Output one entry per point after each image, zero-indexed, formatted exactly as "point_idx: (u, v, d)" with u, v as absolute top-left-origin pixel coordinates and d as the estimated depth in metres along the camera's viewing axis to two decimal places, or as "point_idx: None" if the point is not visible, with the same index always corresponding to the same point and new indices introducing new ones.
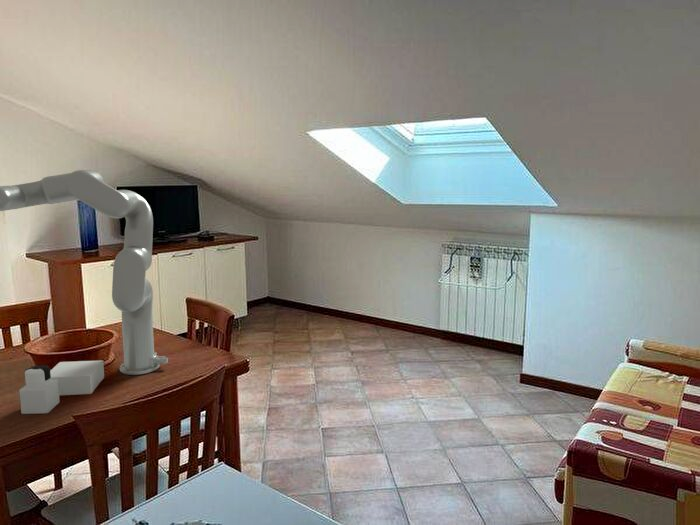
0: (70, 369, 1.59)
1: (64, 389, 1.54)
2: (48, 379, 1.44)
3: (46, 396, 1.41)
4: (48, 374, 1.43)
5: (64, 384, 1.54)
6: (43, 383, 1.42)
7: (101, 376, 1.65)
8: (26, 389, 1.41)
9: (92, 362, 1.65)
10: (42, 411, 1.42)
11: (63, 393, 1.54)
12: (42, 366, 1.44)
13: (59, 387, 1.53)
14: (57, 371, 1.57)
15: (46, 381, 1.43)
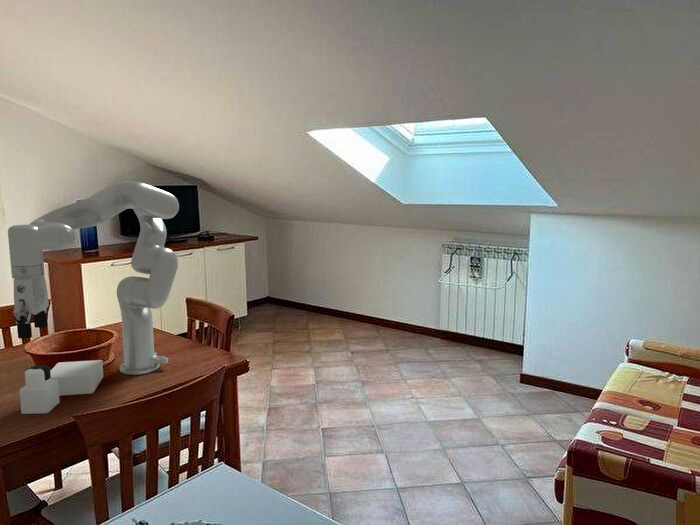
0: (70, 369, 1.59)
1: (66, 389, 1.54)
2: (48, 379, 1.44)
3: (46, 396, 1.41)
4: (48, 374, 1.43)
5: (65, 384, 1.54)
6: (43, 383, 1.42)
7: (100, 376, 1.65)
8: (26, 389, 1.41)
9: (91, 362, 1.65)
10: (42, 411, 1.42)
11: (64, 393, 1.54)
12: (42, 366, 1.44)
13: (60, 387, 1.53)
14: (57, 371, 1.57)
15: (46, 381, 1.43)
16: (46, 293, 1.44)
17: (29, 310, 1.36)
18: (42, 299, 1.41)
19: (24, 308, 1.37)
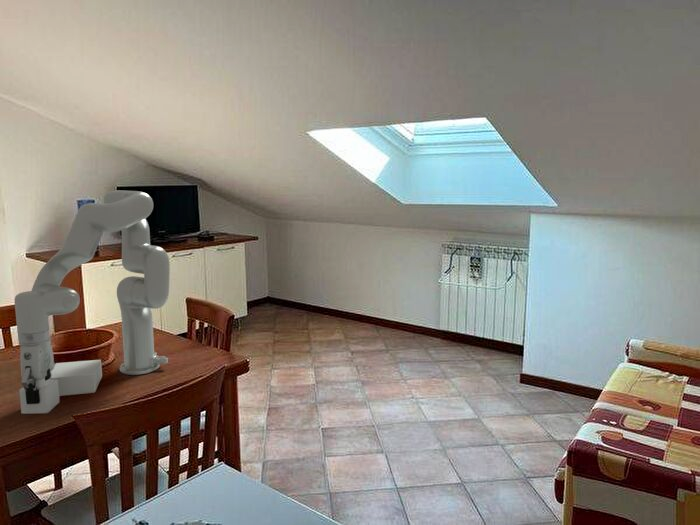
0: (69, 369, 1.59)
1: (67, 389, 1.54)
2: (48, 379, 1.44)
3: (46, 396, 1.41)
4: (48, 374, 1.43)
5: (67, 384, 1.54)
6: (43, 383, 1.42)
7: (100, 375, 1.66)
8: None
9: (90, 362, 1.65)
10: (42, 411, 1.42)
11: (66, 393, 1.54)
12: None
13: (62, 387, 1.53)
14: (57, 372, 1.57)
15: (46, 381, 1.43)
16: (52, 356, 1.47)
17: (35, 376, 1.39)
18: (48, 363, 1.44)
19: (30, 373, 1.40)
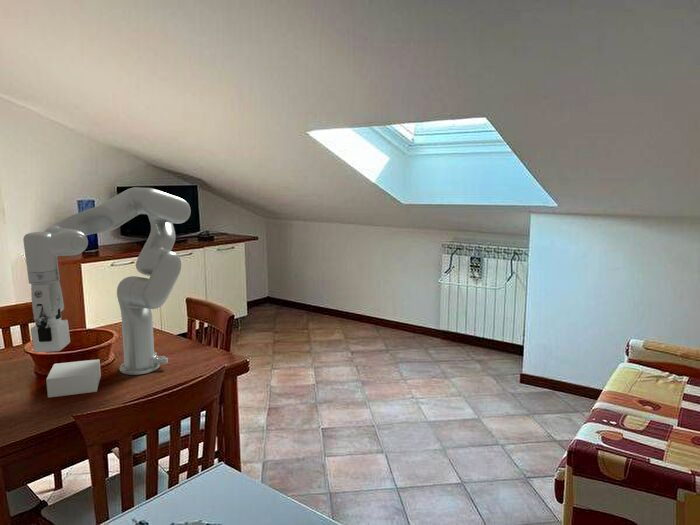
0: (69, 369, 1.59)
1: (69, 389, 1.54)
2: (59, 318, 1.47)
3: (58, 334, 1.45)
4: (58, 313, 1.47)
5: (69, 384, 1.54)
6: (54, 322, 1.46)
7: (99, 375, 1.66)
8: None
9: (89, 362, 1.65)
10: (54, 349, 1.45)
11: (68, 393, 1.54)
12: None
13: (63, 387, 1.53)
14: (58, 372, 1.57)
15: (57, 320, 1.46)
16: (61, 296, 1.50)
17: (47, 314, 1.42)
18: (58, 302, 1.47)
19: (42, 312, 1.43)
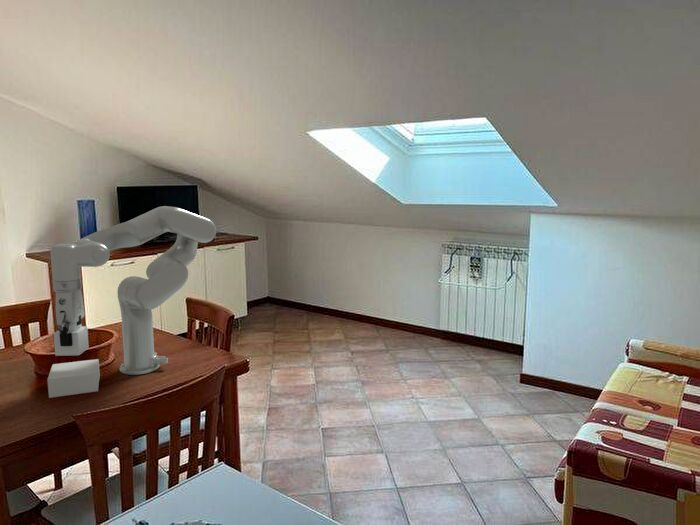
0: (69, 369, 1.59)
1: (70, 389, 1.54)
2: (79, 324, 1.57)
3: (78, 339, 1.55)
4: (79, 320, 1.57)
5: (70, 384, 1.54)
6: (75, 328, 1.56)
7: None
8: None
9: (88, 361, 1.65)
10: (74, 353, 1.55)
11: (69, 393, 1.54)
12: None
13: (65, 387, 1.53)
14: (58, 372, 1.56)
15: (78, 326, 1.56)
16: (82, 304, 1.60)
17: (69, 320, 1.52)
18: (79, 310, 1.57)
19: (64, 318, 1.53)
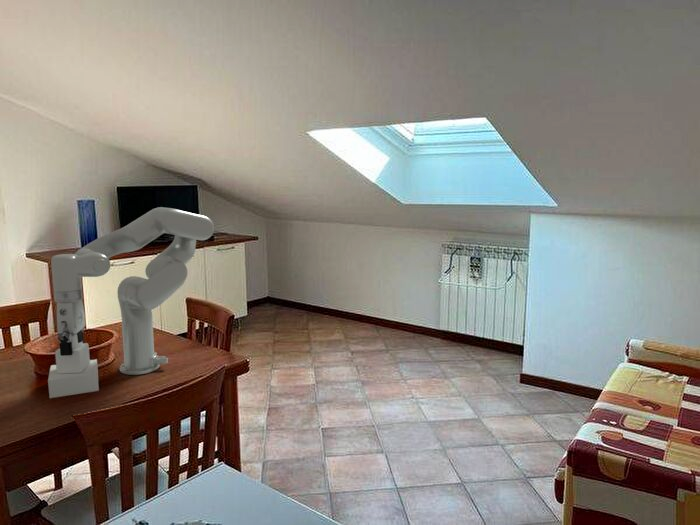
0: None
1: (71, 390, 1.54)
2: (80, 342, 1.58)
3: (80, 356, 1.56)
4: (80, 337, 1.58)
5: (71, 385, 1.54)
6: (76, 345, 1.56)
7: None
8: None
9: None
10: (76, 370, 1.56)
11: (70, 393, 1.54)
12: None
13: (65, 388, 1.53)
14: (57, 373, 1.56)
15: (79, 343, 1.57)
16: (83, 314, 1.61)
17: (70, 330, 1.53)
18: (80, 320, 1.58)
19: (65, 328, 1.54)
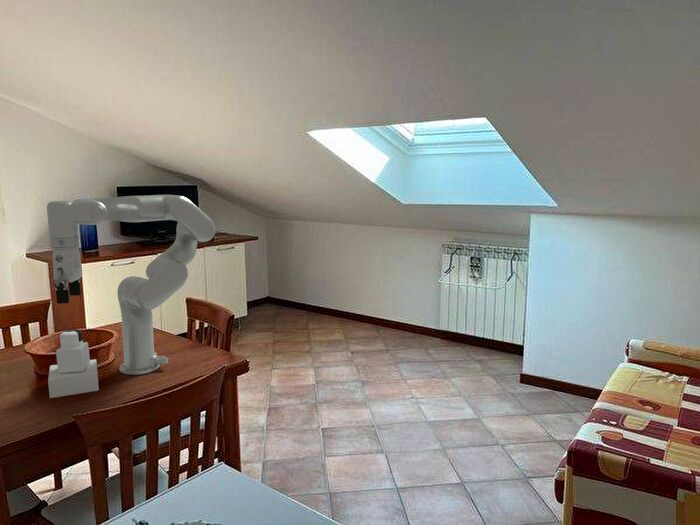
0: None
1: (71, 389, 1.54)
2: (81, 340, 1.58)
3: (81, 355, 1.56)
4: (81, 336, 1.58)
5: (71, 384, 1.54)
6: (77, 344, 1.57)
7: None
8: (62, 350, 1.55)
9: None
10: (78, 369, 1.56)
11: (70, 393, 1.54)
12: (74, 329, 1.59)
13: (65, 388, 1.53)
14: (57, 373, 1.56)
15: (80, 342, 1.57)
16: (80, 264, 1.58)
17: (67, 278, 1.50)
18: (77, 268, 1.55)
19: (62, 276, 1.51)
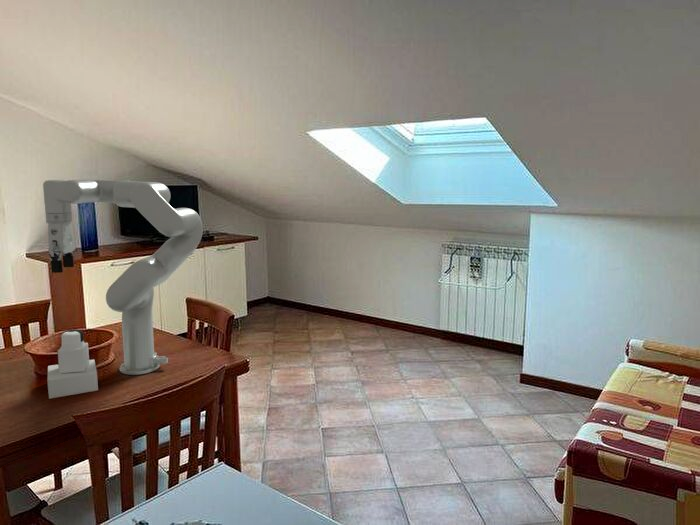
0: None
1: (70, 390, 1.54)
2: (83, 341, 1.59)
3: (83, 355, 1.56)
4: (82, 336, 1.58)
5: (70, 384, 1.54)
6: (79, 344, 1.57)
7: None
8: (64, 350, 1.55)
9: None
10: (79, 369, 1.57)
11: (69, 393, 1.54)
12: (76, 330, 1.59)
13: (65, 388, 1.53)
14: (56, 373, 1.56)
15: (81, 342, 1.58)
16: (73, 238, 1.74)
17: (61, 249, 1.66)
18: (70, 242, 1.72)
19: (56, 248, 1.68)
